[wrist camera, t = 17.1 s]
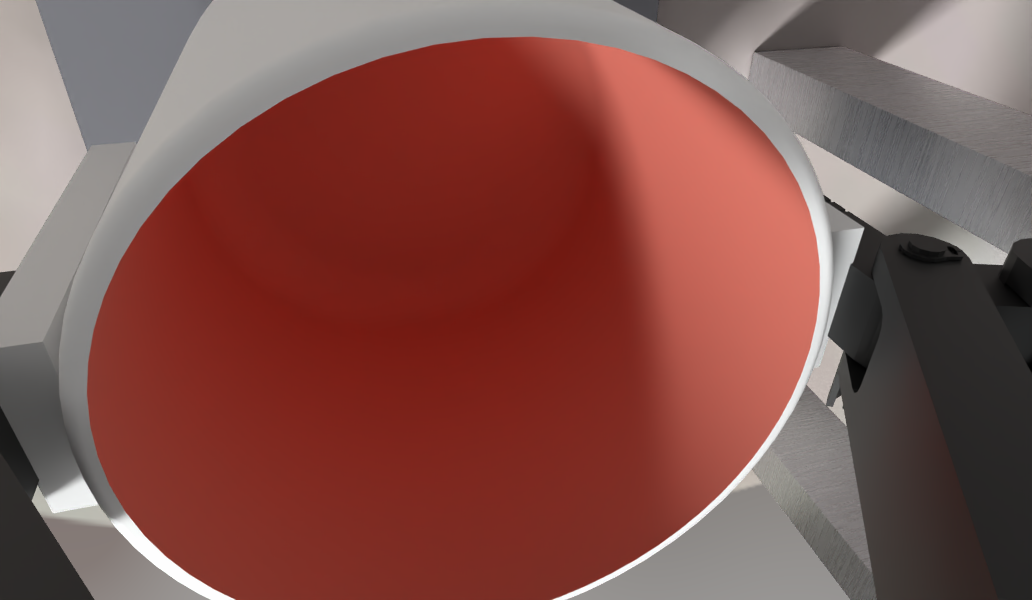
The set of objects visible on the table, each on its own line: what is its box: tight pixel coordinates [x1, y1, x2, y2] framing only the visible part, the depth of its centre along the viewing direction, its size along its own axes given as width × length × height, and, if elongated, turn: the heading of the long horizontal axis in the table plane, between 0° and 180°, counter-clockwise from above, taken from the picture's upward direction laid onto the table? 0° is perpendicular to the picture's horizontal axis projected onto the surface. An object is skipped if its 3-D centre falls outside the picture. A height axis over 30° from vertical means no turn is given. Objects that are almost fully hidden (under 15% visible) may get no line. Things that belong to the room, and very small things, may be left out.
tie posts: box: [749, 46, 1032, 600], centre depth 16 cm, size 26×3×11 cm, turn 0°
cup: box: [59, 0, 834, 600], centre depth 13 cm, size 10×10×10 cm
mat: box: [36, 0, 659, 152], centre depth 18 cm, size 14×14×1 cm
